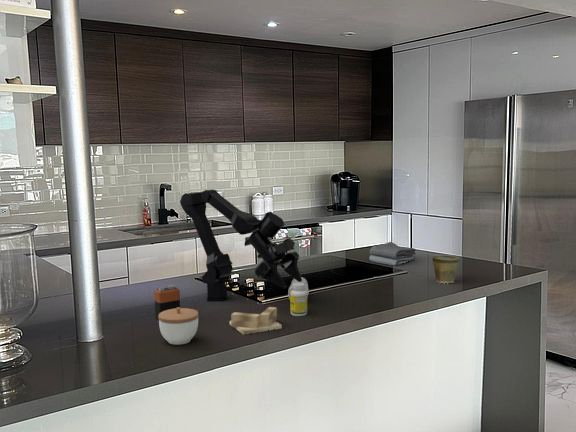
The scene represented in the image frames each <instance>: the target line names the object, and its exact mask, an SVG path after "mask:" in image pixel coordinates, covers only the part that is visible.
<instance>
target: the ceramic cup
mask: <svg viewBox="0 0 576 432" xmlns="http://www.w3.org/2000/svg"><path fill="white" fill-rule="evenodd" d="M459 261H460V257H459V256H457V255H450V254H435V255H433V256H432V264H433V269H434V275H435V282H436V283H437V282H438V283H437V284H440V283H444V284H443V285H449V284H448V283H453V284H454V283H455V279H456V273H457V269H458V267H459ZM445 283H447V284H445Z"/></svg>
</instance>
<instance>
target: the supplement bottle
mask: <svg viewBox="0 0 576 432" xmlns="http://www.w3.org/2000/svg"><path fill="white" fill-rule="evenodd" d="M304 288H305V284H304V283H301V282H296V283H293V284H292V289H293V290H292V291H291V292H290V299H289V300H290V301H289V302H290V305H289V306H290V307H289V309H290V314H291V315H292V316H294V317H302V316H303V317H304V316H306V315H307V314H308V297H307V291H306V290H304Z"/></svg>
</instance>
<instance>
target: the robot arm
mask: <svg viewBox="0 0 576 432" xmlns="http://www.w3.org/2000/svg"><path fill="white" fill-rule="evenodd" d="M179 202H180V203H179V204H180V207H181V208H182V210H183V211H184V212H183V213H185V214H186V215H187V216H188V217H189V218H190V219H191V220H192V222H193V225H194V227H195V231H196V232H197V235H198V237H199V239H200V242H201V245H202V248H203V249H204V252H205V254H206V263H205V266H206V271H205V272H204V274H202V276H201V280H202V283H203V284H206V290H207V291H206V292H207V294H206V301H207V302H216V301H226V299H227V298H228V284H227V283H226V281H228V280H230V277H231V274H232V272H233V262H232V260H231V258H230V255H229V253H223V252H222V251H221V249H220V247H219V245H218V242H217V240H216V236H215V235H214V231H213V230H212V226H211V224H210V223H209V222H210V221H209V220H208V217H207V215H206V212H207V204H209V205H210V206H211V207H212V208H213V209H215V210H216V211H218V212H219V213H220V214H222V215H223V217H225V218H226V219H227V220H229V222H230V225H231V226H232V228H233V229H234V231H236V232H237V234H239V235H242V236H243V235H247V234H250V235H249V236H246V237H245V238H244V244H243V245H244V246H245V247H246V246H250V245H251V246H252V247H253V249H254V250H255V251H256V253H257V254H258V255H256V257H257V258H258V259H262V260H261V262H259V264H257V266H256V267H255V269H254V274H255V276H256V277H257V278H261V279H263V280H266V281H268V282H271V283H273V284H275V285H277V286H279V287H281V288H282V289H286V288H287V287H288V286H287V284H286V282H285V281H284V279H283V277H282V276H281V275H280V272H279V271H278V267H281V268H282V269H283V271H284V272H285V273H286V274H288V275H289V276H290V277H291V278H293V279H296V280H297V281H298V282H301V281H302V278H301V277H302V276H301V273H300V271H299V270H300V269H299V268H298V261H299V258H300V255H299V253H298V252H297V251H294V250H295V244H296V243H295V241H294V240H293V239H292V238H291V237H287V238H285V239H284V240H283V241H281V242H280V243H276V242H272V241H271V239H272V238H273V239H274V237H276V235H277V234H279V232H280V230H281V229H282V228H283V227H284V226H285V222H284V220H283V219H282V217H280V216H279V215H277V214H275V213H273V212H272V211H268V212H266V213H265V215H264V216H263V218H262V219H258V217H256V216H255V215H253V214H251V213H249V212H246V211H243V210H240V209H239V208H237V207H236V206H235V205H234V204H233V203H231V202H230V201H229V200H227V199H226V198H225V197H224V196H223V195H221V194H220V193H218V191H217V190H215V189H214V188H212V189H205V190H203V191H196V192H195V191H194V192H187V193H183V194H182V196H181V197H180V200H179ZM292 250H293V251H292ZM289 251H290V252H289Z"/></svg>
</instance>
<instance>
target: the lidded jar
mask: <svg viewBox="0 0 576 432" xmlns="http://www.w3.org/2000/svg"><path fill="white" fill-rule="evenodd" d="M158 318H159V319H158V324H159V325H158V327H159V330H160V334H161V336H162V337H163V338H164V339H165V341H167V342H168V344H170V345H173V346H174V345H175V346H177V345H178V346H179V345H185V344H188V343H190V342H191V341H192V339H193V338H194V337H195V335H196V333H197V332H198V328H199V327H198V326H199V312H198V310H197V309H194V308H187V307H181V306H180V307H177V308H175V309H169V310H165V311H163V312H161V313H160V314H159V315H158Z"/></svg>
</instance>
